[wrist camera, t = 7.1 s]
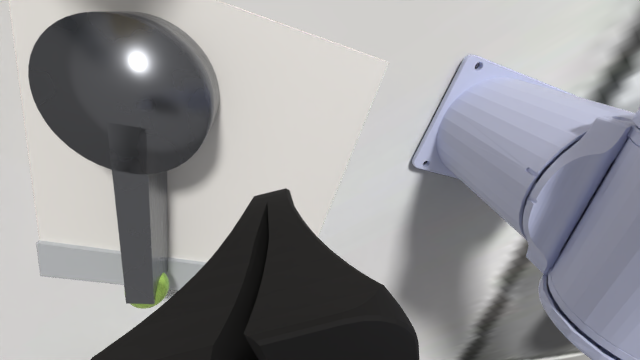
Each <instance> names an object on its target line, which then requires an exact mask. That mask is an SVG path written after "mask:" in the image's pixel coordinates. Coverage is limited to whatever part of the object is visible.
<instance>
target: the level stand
mask: <svg viewBox="0 0 640 360" xmlns="http://www.w3.org/2000/svg"><path fill="white" fill-rule="evenodd" d="M8 1H9V9H10V17H11V25H12V32H13V40H14V48H15V56H16V64H17V71H18V79H19V87H20V95H21V103H22V110H23V118H24V126H25V134H26V141H27V149H28V157H29V165H30V173H31V180H32V188H33V196H34V204H35V212H36V219H37V227H38V235H39V241H38V242H37V243H36V247H37V254H38V262H39V269H40V276H44V277H53V278H63V279H72V280H82V281H91V282H101V283H110V284H120V285H124V278H123V269H122V260H121V250H120V241H119V232H118V222H117V213H116V204H115V195H114V185H113V176H112V170H111V169H108V168H105V167H103V166H100V165H98V164H96V163H94V162H92V161H90V160H88V159H86V158H84V157H83V156H81V155H79V154H78V153H77V152H75V151H74V150H72V149H71V148H70V147H68V146H67V145H66V144H65V143H64V142H63V141H62V140H61V139H59V137H58V136H57V135H56V134H55V133H54V132H53V131H52V130H51V129H50V127H49V126H48V125H47V123H46V122H45V120H44V119H43V117H42V116H41V114H40V112H39V110H38V109H37V106H36V104H35V102H34V99H33V96H32V93H31V90H30V85H29V78H28V65H29V60H30V54H31V52H32V49H33V47H34V44H35V43H36V41H37V40H38V38H39V36H40V35H41V34H42V33H43V32H44V31H45V30H46V29H47V28H48V27H49V26H51V25H52V24H53V23H55V22H56V21H58V20H60V19H62V18H64V17H67V16H70V15H74V14H77V13H84V12H106V11H131V12H141V13H147V14H150V15H154V16H157V17H159V18H162V19H164V20H166V21H168V22H170V23H172V24H174V25H175V26H177V27H179V28H180V29H181V30H183V31H184V32H185V33H187V34H188V35H189V36H190V37H191V38H192V39H193V40H194V41H195V42H196V43H197V44H198V45H199V46H200V48H201V49H202V50H203V51H204V53H205V54H206V56H207V57H208V59H209V61H210V63H211V64H212V66H213V69H214V71H215V74H216V77H217V81H218V85H219V93H220V100H219V108H218V112H217V115H216V118H215V120H214V122H213V124H212V126H211V128H210V130H209V132H208V134H207V135H206V137H205V139H204V141H203V143H202V145H201V146H200V147H199V149H198V150H197V152H196V153H195V154H194V155H193V156H192V157H191V158H190V159H188V160H187V161H186V162H185V163H183V164H181V165H180V166H178V167H176V168H173V169H171V170H168V171H167V200H168V271H167V274H166V275H167V277H168V279H169V290H177V291H179V290H180V289H181V288H182V287H183V286H184V285H185V284H186V283H187V282H188V281H189V280H190V279H191V278H192V277H193V276H195V274H196V273H197V272H198V271H199V270H200V269H201V268H202V267H203V266H204V265H205V264H206V263H207V262H208V260H209V259H210V258H211V257H212V256H213V255H214V253H215V252H216V251H217V250H218V248H219V247H220V246H221V244H222V243H223V242H224V240H225V239H226V238H227V236H228V235H229V234H230V232H231V231H232V230H233V228H234V227H235V225H236V224H237V222H238V221H239V219H240V218H241V216H242V214H243V213H244V211H245V210H246V208H247V206H248V205H249V203H250V202H251V200H252V199H253V197H254V196H257V195H261V194H265V193H269V192H273V191H277V190H281V189H285V188H286V189H288V190H290V193H291V196H292V200H293V203H294V206H295V208H296V210H297V211H298V213H299V214H300V216H301V217H302V219H303V220H304V221H305V223H306V224H307V225H308V227H309V228H310V229H311V230H312V231H313V233H314V234H315V235H316V236H317V237H318V236H319V234H320V232H321V229H322V227H323V224H324V222H325V219H326V217H327V214H328V212H329V209H330V207H331V204H332V202H333V200H334V197H335V195H336V192H337V190H338V187H339V185H340V182H341V180H342V177H343V175H344V173H345V170H346V168H347V165H348V163H349V160H350V158H351V155H352V153H353V150H354V148H355V145H356V143H357V141H358V138H359V136H360V133H361V131H362V128H363V126H364V123H365V121H366V118H367V116H368V114H369V111H370V109H371V106H372V104H373V101H374V99H375V96H376V94H377V91H378V89H379V86H380V84H381V82H382V79H383V77H384V74H385V72H386V69H387V67H388V64H389V62H387V61H384V60H382V59H380V58H377V57H374V56H371V55H369V54H366V53H363V52H360V51H358V50H355V49H352V48H349V47H346V46H344V45H341V44H338V43H335V42H333V41H330V40H327V39H324V38H321V37H319V36H316V35H313V34H310V33H308V32H305V31H302V30H299V29H296V28H294V27H291V26H288V25H285V24H283V23H280V22H277V21H274V20H271V19H269V18H266V17H263V16H260V15H258V14H255V13H252V12H249V11H246V10H244V9H241V8H238V7H235V6H233V5H230V4H227V3H224V2H221V1H219V0H8Z"/></svg>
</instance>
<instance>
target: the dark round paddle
mask: <svg viewBox="0 0 640 360" xmlns="http://www.w3.org/2000/svg"><path fill="white" fill-rule="evenodd" d="M28 78H29V85H30V90H31V93H32V96H33V99H34V102H35V104H36V106H37V109H38V110H39V112H40V114H41V116H42V117H43V119H44V120H45V122H46V123H47V125H48V126H49V127H50V129H51V130H52V131H53V132H54V133H55V134H56V135H57V136H58V137H59V139H61V140H62V141H63V142H64V143H65V144H66V145H67V146H68V147H70V148H71V149H72V150H74V151H75V152H77V153H78V154H79V155H81V156H83V157H84V158H86V159H88V160H90V161H92V162H94V163H96V164H98V165H100V166H103V167H105V168H108V169H111V170H112V176H113V185H114V195H115V204H116V213H117V222H118V232H119V241H120V250H121V260H122V269H123V278H124V287H125V297H126V303H130V304H131V305H132V306H134V307H137V308H150V307H153V306H155V305H157V304H158V303H160V302H161V301H162V300H163V299H164V298H165V296H166V295H167V293H168V290H169V279H168V277H167V275H166V274H167V271H168V200H167V171H168V170H171V169H173V168H176V167H178V166H180V165H181V164H183V163H185V162H186V161H187V160H188V159H190V158H191V157H192V156H193V155H194V154H195V153H196V152H197V150H198V149H199V147H200V146H201V145H202V143H203V141H204V139H205V137H206V135H207V134H208V132H209V130H210V128H211V126H212V124H213V122H214V120H215V118H216V115H217V112H218V108H219V100H220V93H219V85H218V81H217V77H216V74H215V71H214V69H213V66H212V64H211V63H210V61H209V59H208V57H207V56H206V54H205V53H204V51H203V50H202V49H201V48H200V46H199V45H198V44H197V43H196V42H195V41H194V40H193V39H192V38H191V37H190V36H189V35H188V34H187V33H185V32H184V31H183V30H181V29H180V28H179V27H177V26H175V25H174V24H172V23H170V22H168V21H166V20H164V19H162V18H159V17H157V16H154V15H150V14H147V13H141V12H131V11H106V12H84V13H77V14H74V15H70V16H67V17H64V18H62V19H60V20H58V21H56V22H55V23H53V24H52V25H51V26H49V27H48V28H47V29H46V30H45V31H44V32H43V33H42V34H41V35H40V36H39V38H38V40H37V41H36V43H35V44H34V47H33V49H32V52H31V54H30V60H29V65H28Z"/></svg>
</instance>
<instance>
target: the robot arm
mask: <svg viewBox="0 0 640 360" xmlns="http://www.w3.org/2000/svg"><path fill="white" fill-rule="evenodd" d="M478 62H479V67H478V68H477V69H475V65H476V64H477V63H478ZM425 161H427V163H426V164H424V165H423V163H424V162H425ZM412 164H413V165H414V166H415V167H416V168H419V169H423V170H426V171H430V172H434V173H438V174H442V175H446V176H450V177H453V178H457V179H460V180H461V181H462V182H463V183H464V184H465V185H467V186H468V187H469V188H470V189H471V190H472V191H473V192H474V193H475V194H476V195H478V196H479V197H480V198H481V199H482V200H483V201H484V202H485V203H486V204H487V205H489V206H490V207H491V208H492V209H493V210H494V211H495V212H496V213H497V214H498V215H499V216H501V217H502V218H503V219H504V220H505V221H506V222H507V223H508V224H509V225H510V226H512V227H513V228H514V229H515V230H516V231H517V232H518V233H519V234H520V235H521V236H523V237H524V238H525V239H526V240H527V241H528V243H529V248H528V252H527V254H526V257H527V258H528V259H529V260H530V261H531V262H532V263H533V264H534V265H535V266H536V267H537V268H538V269H539V270H540V271H541V272H542V273H543V274H544V275H543V276H542V278H541V280H540V282H539V289H538V290H539V297H540V300H541V303H542V305H543V307H544V309H545V311H546V313H547V315H548V316H549V318H550V319H551V320H552V322H553V323H554V324H555V326H556V327H557V328H558V329H559V330H560V331H561V332H562V334H563V335H564V336H565V337H566V338H567V339H568V340H569V341H570V342H571V343H572V344H574V345H575V346H576V347H577V348H578V349H579V350H580V351H581V352H583V353H584V354H585V355H586V356H588V357H589V358H590V359H592V360H640V107H639V109H638V110H637V112H636V113H633V112H630V111H626V110H623V109H619V108H616V107H612V106H609V105H605V104H602V103H598V102H595V101H591V100H588V99H584V98H581V97H577V96H575V95H573V94H571V93H568V92H566V91H563V90H561V89H558V88H556V87H553V86H551V85H548V84H546V83H543V82H541V81H538V80H536V79H533V78H531V77H528V76H526V75H523V74H521V73H519V72H516V71H514V70H511V69H509V68H506V67H504V66H501V65H499V64H496V63H494V62H491V61H489V60H486V59H484V58H481V57H479V56H476V55H468V56H466V57H465V58H464V60H463V61H462V63H461V65H460V67H459V69H458V71H457V73H456V75H455V77H454V79H453V81H452V83H451V85H450V87H449V88H448V90H447V92H446V94H445V96H444V98H443V100H442V102H441V104H440V106H439V108H438V110H437V112H436V114H435V116H434V118H433V120H432V122H431V124H430V126H429V128H428V130H427V132H426V134H425V135H424V137H423V139H422V141H421V143H420V145H419V147H418V149H417V151H416V153H415V155H414V157H413V159H412ZM91 360H419V345H418V339H417V335H416V332H415V330H414V328H413V326H412V324H411V322H410V321H409V319H408V317H407V316H406V314H405V313H404V311H403V310H402V308H401V307H400V305H399V304H398V303H397V301H396V300H395V299H394V297H393V296H392V295H391V294H390V292H389V291H388V290H387V289H386V288H385V286H384V285H382V284H380V283H378V282H376V281H375V280H373V279H371V278H369V277H368V276H366V275H364V274H363V273H361V272H360V271H358V270H357V269H355V268H354V267H352V266H351V265H349V264H348V263H347V262H345V261H344V260H343V259H342V258H340V257H339V256H338V255H336V254H335V253H334V252H333V251H331V250H330V249H329V248H328V247H327V246H326V245H325V244H324V243H323V242H322V241H321V240H320V239H319V238H318V237H317V236H316V235H315V234H314V233H313V231H312V230H311V229H310V228H309V227H308V225H307V224H306V223H305V221H304V220H303V219H302V217H301V216H300V214H299V213H298V211H297V210H296V208H295V206H294V203H293V200H292V196H291V193H290V190H288V189H286V188H285V189H281V190H277V191H273V192H269V193H265V194H261V195H257V196H254V197H253V199H252V200H251V202H250V203H249V205H248V206H247V208H246V210H245V211H244V213H243V214H242V216H241V218H240V219H239V221H238V222H237V224H236V225H235V227H234V228H233V230H232V231H231V232H230V234H229V235H228V236H227V238H226V239H225V240H224V242H223V243H222V244H221V246H220V247H219V248H218V250H217V251H216V252H215V253H214V255H213V256H212V257H211V258H210V259H209V260H208V262H207V263H206V264H205V265H204V266H203V267H202V268H201V269H200V270H199V271H198V272H197V273H196V274H195V276H193V277H192V278H191V279H190V280H189V281H188V282H187V283H186V284H185V285H184V286H183V287H182V288H181V289H180V290H179V291H178V292H177V293H176V294H175V295H174V296H172V297H171V298H170V299H169V300H168V301H167V302H165V303H164V304H163V305H162V306H161V307H160V308H158V309H157V310H156V311H155V312H154V313H152V314H151V315H150V316H149V317H147V318H146V319H145V320H144V321H142V322H141V323H140V324H138V325H137V326H136V327H135V328H133V329H132V330H131V331H129V332H128V333H126V334H125V335H124V336H122V337H121V338H119V339H118V340H117V341H115V342H114V343H112V344H111V345H110V346H108V347H107V348H105V349H104V350H103V351H101V352H100V353H98V354H97V355H95V356H94V357H92V359H91Z"/></svg>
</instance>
